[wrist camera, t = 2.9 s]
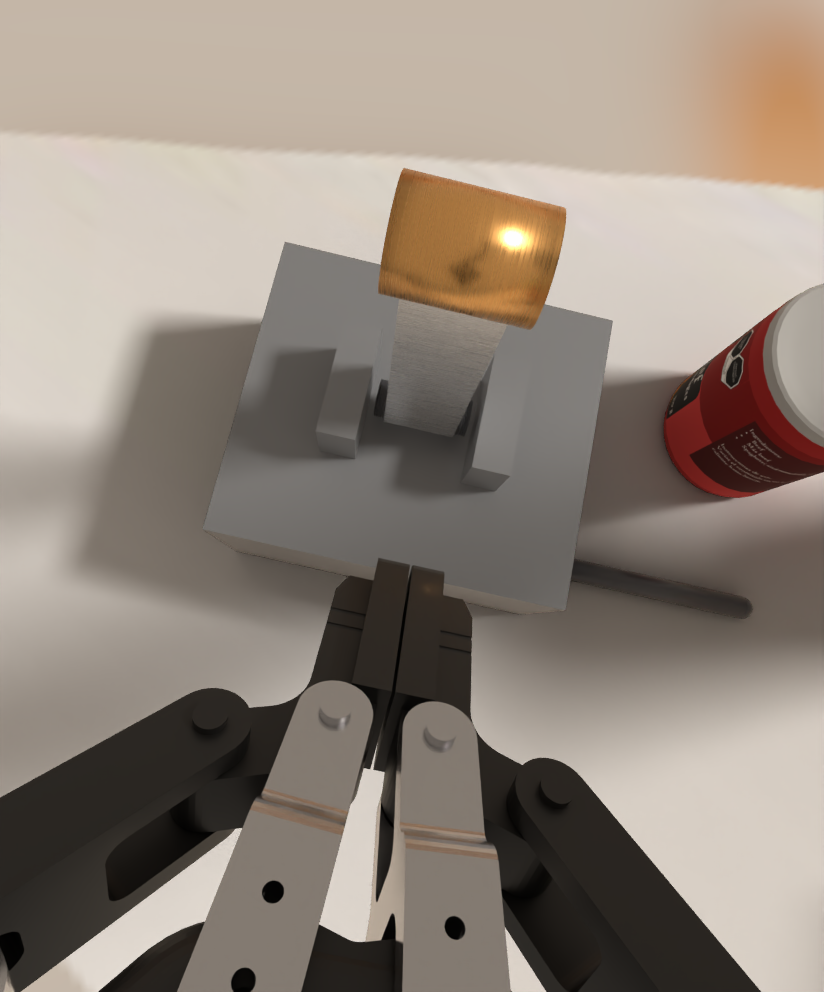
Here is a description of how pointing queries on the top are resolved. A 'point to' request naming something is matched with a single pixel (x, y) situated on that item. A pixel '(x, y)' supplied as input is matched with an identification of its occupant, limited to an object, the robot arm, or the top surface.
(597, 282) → the top surface
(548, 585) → the box
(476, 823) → the robot arm
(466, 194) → the breaker lever
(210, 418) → the top surface
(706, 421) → the canned food
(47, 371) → the top surface
